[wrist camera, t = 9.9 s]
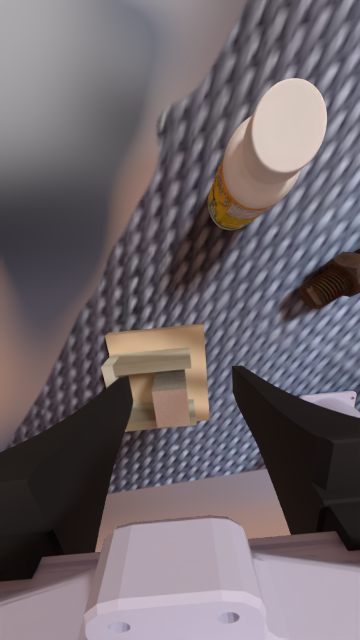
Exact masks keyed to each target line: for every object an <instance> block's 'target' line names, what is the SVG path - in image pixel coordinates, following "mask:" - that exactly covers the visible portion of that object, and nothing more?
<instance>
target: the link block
mask: <svg viewBox="0 0 360 640" xmlns="http://www.w3.org/2000/svg"><path fill="white" fill-rule="evenodd" d="M152 397H153V403H154V409H155V415H156V421H157V428H161V427H172V426H182V425H190V416H189V405H188V394H187V384H186V374H185V369H181V370H170V371H160V372H156V374H155V379H154V383H153V388H152Z"/></svg>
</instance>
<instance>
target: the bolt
mask: <svg viewBox="0 0 360 640" xmlns="http://www.w3.org/2000/svg"><path fill="white" fill-rule="evenodd" d="M358 293H360V249H359V250H357V251H356V252H354V253H352V252H342V253H340V254H339V255H337V256H336V257H334V258H333V259H331V260H330V261H329V262H327V263H326V264H325V265H324V266H323V267H322V268H321V274H319V275H318V276H316V277H315V278H313V279H312V280H310V281H308V282H307V283H305V284H303V285H301V287H300V289H299V294H300V296H301V298H302V300H303V301H304V302H305V303H306V304H307V305H308V306H309V307H310V308H315V309H320V308H322V307H324V306H326V305H327V304H329V303H330V302H332V301H334V300H336V299H337V298H339V297H341V296H342V295H343V296H348V297H351V296H354V295H356V294H358Z"/></svg>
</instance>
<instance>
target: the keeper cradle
mask: <svg viewBox="0 0 360 640" xmlns="http://www.w3.org/2000/svg"><path fill="white" fill-rule="evenodd" d="M105 338H106V343H107V347H108V351H109V356H110V357H109V358H108V360H107V361H106V362H105V363H104V365H103V366H102V367H101V368H102V372H103V376H104V380H105V384H106V388H107V387H108V386H109V385H111V384H112V383H113V382H114V381H115V380H117V379H118V378H119V377H126V376H129V381H130V386H131V391H132V396H133V401H134V402H133V407H132V411H131V416H130V419H129V422H128V424H127V427H126V430H125V432H126V431H137V430H147V429H158V428H157V421H156V415H155V409H154V403H153V397H152V388H153V383H154V379H155V374H156V372H160V371H170V370H181V369H185V374H186V384H187V394H188V405H189V416H190V425H197V424H196V421H203V420H210V419H209V404H208V388H207V373H206V357H205V342H204V326H203V324H195V325H184V326H174V327H164V328H154V329H144V330H134V331H124V332H113V333H108V334H106V335H105ZM190 425H182V426H190ZM172 427H179V426H172ZM161 428H168V427H161Z"/></svg>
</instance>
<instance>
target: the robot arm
mask: <svg viewBox="0 0 360 640" xmlns="http://www.w3.org/2000/svg"><path fill="white" fill-rule="evenodd" d="M232 381H233V394H234V397H235V400H236V402H237V405H238V407H239V409H240V411H241V413H242V415H243V417H244V419H245V421H246V423H247V425H248V427H249V429H250V431H251V433H252V435H253V437H254V439H255V441H256V443H257V445H258V448H259V450H260V453H261V455H262V458H263V460H264V463H265V465H266V468H267V470H268V473H269V475H270V478H271V481H272V483H273V486H274V488H275V491H276V494H277V496H278V500H279V502H280V505H281V508H282V511H283V513H284V516H285V519H286V522H287V525H288V527H289V531H290V533H291V535H287V536H277V537H265V538H253V539H247V536H246V534H245V532H244V530H243V527H242V526H241V525H239V524H238V523H237V522H235V521H233V520H231V519H229V518H228V517H222V516H211V515H210V516H198V517H188V518H177V519H166V520H155V521H143V522H133V523H129V524H126V525H122V526H119V527H117V528H116V529H115V530H114V531H113V532H112V533H111V534H110V535H109V536H108V537H106V538H105V539H104V543H103V547H102V550H101V552H95V548H96V544H97V538H98V533H99V528H100V524H101V519H102V514H103V510H104V505H105V501H106V496H107V492H108V488H109V483H110V479H111V475H112V471H113V467H114V464H115V460H116V456H117V453H118V450H119V447H120V444H121V442H122V439H123V436H124V433H125V430H126V427H127V424H128V422H129V419H130V416H131V411H132V407H133V402H134V401H133V396H132V391H131V386H130V381H129V376H126V377H119V378H118V379H117V380H115V381H114V382H113V383H112V384H111V385H109V386H108V387H107V388H106V389H105V390H104V391H102V392H101V393H100V394H99V395H98V396H96V397H95V398H94V399H92V400H91V401H90V402H89V403H87V404H86V405H85V406H83V407H82V408H81V409H79V410H78V411H76V412H75V413H73V414H72V415H70V416H69V417H67V418H66V419H64V420H62V421H61V422H59V423H57V424H56V425H54V426H52V427H50V428H49V429H47V430H45V431H43V432H42V433H40V434H38V435H36V436H34V437H32V438H30V439H28V440H26V441H24V442H22V443H20V444H18V445H16V446H14V447H11V448H9V449H7V450H5V451H2V452H0V640H360V412H359V411H357V410H356V409H355V408H354V404H355V400H356V392H354V391H342V392H332V393H321V394H311V395H301V396H299V397H296V396H294V395H292V394H290V393H288V392H285V391H283V390H281V389H280V388H278V387H276V386H274V385H272V384H270V383H269V382H267V381H265V380H264V379H262V378H260V377H259V376H257V375H256V374H254V373H252V372H251V371H249V370H248V369H246V368H245V367H243V366H241V365H240V366H232Z"/></svg>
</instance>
